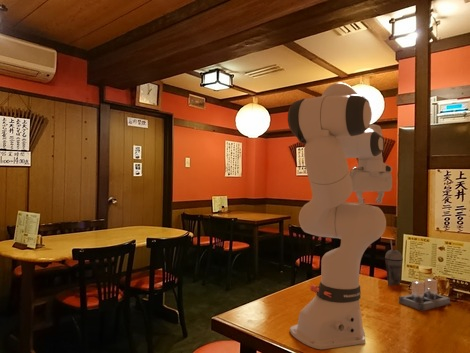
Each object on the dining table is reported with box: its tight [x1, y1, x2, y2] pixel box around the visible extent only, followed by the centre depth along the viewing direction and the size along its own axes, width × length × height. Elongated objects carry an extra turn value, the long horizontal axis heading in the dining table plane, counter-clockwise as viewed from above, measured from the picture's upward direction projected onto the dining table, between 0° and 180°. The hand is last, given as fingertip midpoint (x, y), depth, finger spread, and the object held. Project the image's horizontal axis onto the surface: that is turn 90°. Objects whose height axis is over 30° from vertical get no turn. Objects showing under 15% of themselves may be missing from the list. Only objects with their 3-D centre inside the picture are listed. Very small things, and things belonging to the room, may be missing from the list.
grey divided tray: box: [398, 290, 451, 312], centre depth 125 cm, size 16×9×3 cm, turn 117°
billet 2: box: [424, 277, 438, 300], centre depth 127 cm, size 4×4×8 cm
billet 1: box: [411, 280, 425, 303], centre depth 124 cm, size 4×4×8 cm
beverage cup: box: [384, 239, 404, 286], centre depth 150 cm, size 7×7×20 cm
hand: (370, 203), depth 131 cm, fingers open, 8 cm apart
